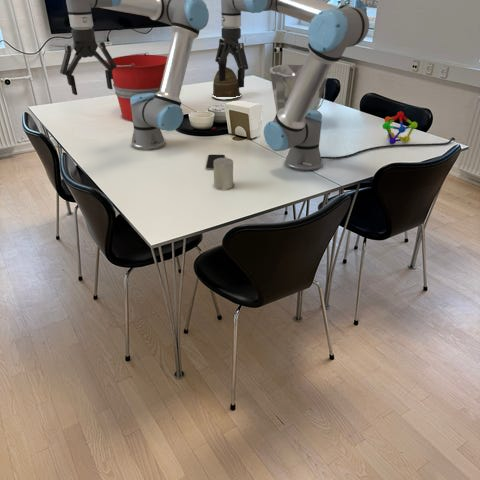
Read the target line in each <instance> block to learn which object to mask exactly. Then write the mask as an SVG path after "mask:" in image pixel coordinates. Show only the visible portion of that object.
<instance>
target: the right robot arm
mask: <svg viewBox="0 0 480 480" xmlns="http://www.w3.org/2000/svg"><path fill="white" fill-rule="evenodd" d="M220 11H221V12H220V14H221V18H220V19H221V27H222V28H221V38H220V39H218V40H219V41H218V48H217V51H216V52H217V53H216V56H215V60H214V61H215V62H216V63H217V65H218V70H219V81H225V60H226V58H227V59H228V56H229V54H231V56H233V59H234V61H235V64H236V66H237V68H238V69H237V79H238V81H237V88H239V89H240V88H244V87H245V77H246V75H245V74H246V73H245V71H246V70H248V69H249V64H248V60H247V56H246V52H245V51H246V50H245V43H244V42H239V40H240V39H241V38H242V29H241V26H242V12H245V13H251V14H259V13H262V12H269V11H270V12H271V11H272V12H276V13H279V14H282V15H285V16H287V17H291V18H294V19H297V20H300V21H303V22H305V23H308V24H309V25H308V28H307V35H308V37H307V40H308V41H307V42H308V44H307V48H308V51H309V52H308V55H306V59H305V61H304V63H303V64H304V65H303V67H302V69H301V72H300V74H299V76H298V78H297V80H296V83H295V85H294V87H293V89H292V91H291V93H290V96H289V98H288V100H287V102H286V104H285V106H284V108H282V109H280V110H278V112H277V113H276V114H275V116H274V119H273V120H271V121H268V122H267V123H266V124H265V125H264V127H263V136H264V140H265V143H266V144H267V146H268V147H269V148H270V149H271V150H273V151H274V152H282V151H287V150H288V152H287V155H286V157H285V163H284V164H285V166H286V167H287V168H288V169H291V170H293V171H294V170H295V171H300V172H311V171H316V170H319V169H320V168H321V167H322V165H323V160H338V159H347V158H350V157H353V156H356V155H359V154H361V153H363V152H368V151H372V150H377V149H378V150H379V149H384V148H397V147H426V146H427V147H428V146H446V145H449V144H451V143H452V141H456V138H455V137H451V138H450V139H449V140H448V141H447V142H436V143H404V144H403V143H402V144H388V145H387V144H386V145H379V146H372V147H368V148H364V149H361V150H358V151H356V152H355V151H354V152H353V153H350V154H346V155H340V156H321V151H320V141H321V133H322V132H321V131H322V123H323V114H322V113H321V111H319V110H313V109H309V108H310V106H311V104H312V102H313V100H314V99H315V97H316V95H317V93H318V91H319V89H320V87H321V85H322V83H323V81H324V79H325V77H326V75H327V73H328V71H329V72H330V69H331V67H332V65H333V64H335V63H337V62H339V61H340V60H341V58H342V57H343V54H344V52H345V51H346V48H350V47H355V46H356V45H359V44H360V43H362V42H363V41H364V40H365V39H366V37H367V35H368V33H369V30H370V20H369V17H368V15H367V12H366V11H364V9H361V8H360V7H357V6H351V5H347V4H340V5H339V6H338V5H334V4H331V3H328V2H324V1H321V0H220Z"/></svg>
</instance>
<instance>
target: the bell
mask: <svg viewBox="0 0 480 480" xmlns="http://www.w3.org/2000/svg"><path fill="white" fill-rule="evenodd" d="M227 63H228V57H227V58H226V60H225V81H219V69H218V70H217V71H216V73H215V75H214V78H213V81H212V83H213V84H212V95H214V96H216V97H236V96H240V95H241V96H242V93H241V92H240V88H237V81H238V76H237V74H236V73H235V72H234V70H232V69H231V68H230V67H227Z"/></svg>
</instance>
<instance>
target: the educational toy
mask: <svg viewBox="0 0 480 480" xmlns="http://www.w3.org/2000/svg"><path fill="white" fill-rule="evenodd" d="M397 119H399V124H400V125H399V127H398V126H393V125H391V124H392V123H394V122H395V121H396V120H397ZM403 120H404V121H405V122H407V123H408V124H409V125H407V126H404V123H403ZM417 127H418V122H417V121H411V120H410V119H409V118H408V117H406V116H405V113H404V112H403V111H401V110H400V111H398V112H397V114H396V115H394V116H391V117H390V116H386V117H385V118H384V122H383V123H382V129H383V130H386V132H387V138H388V142H389V145H396V143H397V142H402V141H403V142H404V143H409V142H410V140H411V138H410V136H411V134H412V132H413V131H414V130H415V129H417ZM392 129H393V130H397V131H398V132H396V134H395V133H394V132H392ZM408 129H409V131H408V133H407V134H406V135H404V136H401V134H403V133H405V132H406V130H408ZM399 135H400V136H399Z"/></svg>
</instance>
